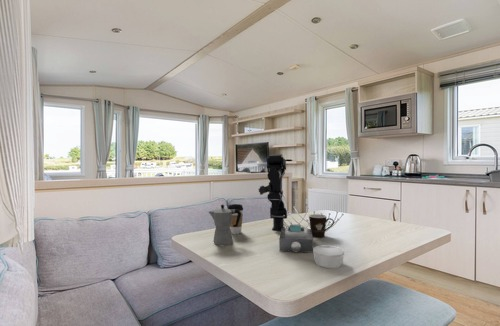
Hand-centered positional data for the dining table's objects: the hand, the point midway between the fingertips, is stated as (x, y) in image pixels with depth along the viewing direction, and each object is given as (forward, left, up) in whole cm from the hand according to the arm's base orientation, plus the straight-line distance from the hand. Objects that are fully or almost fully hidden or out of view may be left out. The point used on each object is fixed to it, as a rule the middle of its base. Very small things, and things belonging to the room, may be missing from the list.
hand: (275, 211), depth 135 cm
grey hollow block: (+13, +10, -13) cm, 21 cm away
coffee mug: (-4, +22, -13) cm, 26 cm away
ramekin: (+31, +22, -13) cm, 40 cm away
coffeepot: (+12, -23, -13) cm, 29 cm away
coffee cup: (-5, -22, -13) cm, 26 cm away
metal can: (+13, +10, -12) cm, 20 cm away
